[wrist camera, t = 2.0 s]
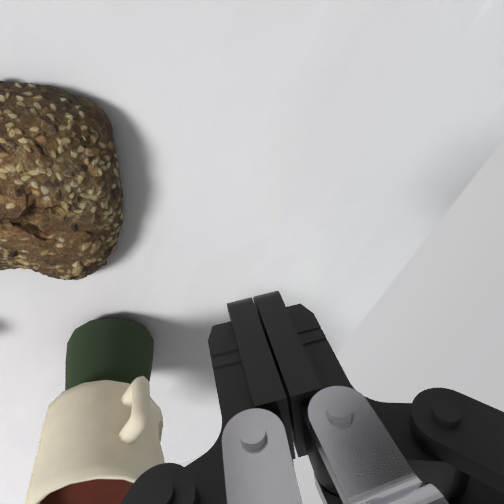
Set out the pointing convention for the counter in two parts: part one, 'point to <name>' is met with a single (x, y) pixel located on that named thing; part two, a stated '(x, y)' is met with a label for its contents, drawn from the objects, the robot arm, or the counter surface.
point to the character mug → (99, 419)
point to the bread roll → (56, 182)
